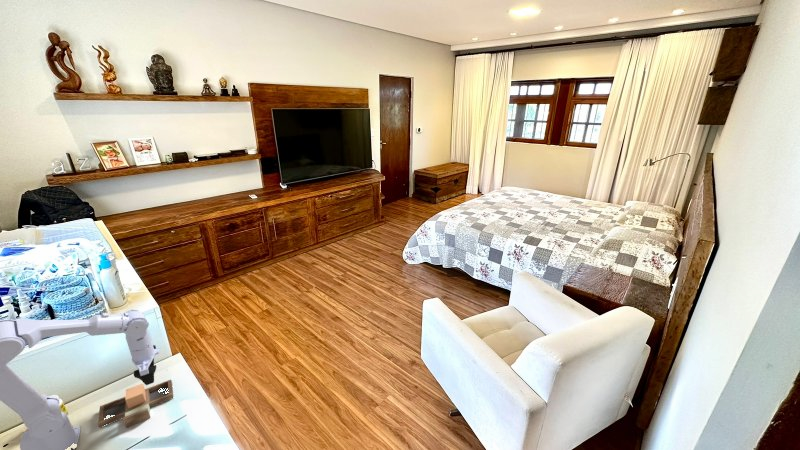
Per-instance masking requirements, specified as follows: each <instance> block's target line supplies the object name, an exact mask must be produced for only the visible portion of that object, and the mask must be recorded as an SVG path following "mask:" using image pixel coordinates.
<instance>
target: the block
mask: <svg viewBox="0 0 800 450" xmlns="http://www.w3.org/2000/svg"><path fill="white" fill-rule="evenodd" d="M145 389H146V388H145V387H144V383H140V384H138V385H136V386H133V387H131V388H127V389H125V396H126V397H125V396H124V397H125V400H126V403H127V406H128V408H131V407H133V406H136V405H138V404H141V403H143V402H146V392H145Z"/></svg>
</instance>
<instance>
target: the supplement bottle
mask: <svg viewBox="0 0 800 450" xmlns="http://www.w3.org/2000/svg"><path fill="white" fill-rule="evenodd" d="M48 396H49V397H55V398H57V399H58V400H59V406H60V410H61V412H64V413H66V414H67V416H69V411H68V409H67V406H66V405H65V403H64V401H63V400H62V398H60V397H59V395H57V394H52V395H48Z"/></svg>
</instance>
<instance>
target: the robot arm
mask: <svg viewBox="0 0 800 450" xmlns="http://www.w3.org/2000/svg"><path fill="white" fill-rule="evenodd" d="M149 325H150V324H149V322H148V320H147V318H146V316H144V314H143V313H142V312H141V311H140V310H138V309H129V310H126V311H124V312H121V313H111V314H110V313H108V312H101V314H95V315H93V316H91V317H90V318H88V319H33V318H27V317H21V318H16V319H11V318H6V319H5V318H4V319H0V402H2V403H3V404H4V405H6V406H7V407H8V408H10V410H12V411H13V412H14V413H16V414H17V415H18V416H20V419H21V420H22V422H23V424H24V426H25V427H26V428H27V429H28V430H26V431H25V432H23V433H22V434H21V436H20V440H19V448H20V450H65V449H67V448H68V447H70V446H71V445H72V444H73V443H74V444H77V442H78V443H79V440H78V439H80V434H81V433H80V432H81V426H80V425H78V426H76V427H74V426H73V425H72V423H71V420H70V418H69V417H68V416H69V415H68V416H67V414H66V413H64V412H61V410H60V406H59V400H58V399H57V398H55V397H49V396H50V395H47V394H46V393H40V392H39V391H38V390H36V388H34V387H33V385H31V384H29V382H27V381H26V380H25V379H24V378H23V377H21V376H20V375H19V374H18V373H17V372H16V371H15V370H13V368H11V367H10V366H9V365H8V363H10V362H11V361H12V360H14V359H15V358H16V357H18V356H19V355H20V354H21V353H23V351H24V350H25V347H26V346H28V349H31V348H33V347H34V346H36V345H37V344H38V343H40V342H41V341H42V340H43V339H45V338H50V337H58V336H66V335H73V334H74V335H75V334H80V333H81V334H82V333H87V334H88V335H90V336H91V337H94V336H95V337H96V336H106V335H116V334H123V333H124V334H125V341H126V343H127V347H128V350H129V352H130V355H131V356H130V357H131V362H132V363H133V364H134V365H135V367H136V368H137V369H136V370H134V371H133V377H134V378H136V379H139V380H140V381H141V382H142V384H143V385H145V386H149V385H151V384H154V383H155V373H156V371H157V364H155V356H156V355H159V354H160V349H159V348H157V346H156V345H154V344H153V341H152V338H151V337H152V336H151V333H150V330H149Z"/></svg>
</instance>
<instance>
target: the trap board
mask: <svg viewBox="0 0 800 450" xmlns="http://www.w3.org/2000/svg"><path fill="white" fill-rule="evenodd" d="M172 386H173V381H172V379H168V380H166V381H162V382H160V383H158V384H156V385H155V384H154V385H152V386H150V387H146V388H144V389H145V392H146V402H143V403H141V404H138V405H136V406H133V407H131V408H128V406H127V403H126V400H125V397H126V395H125V396H123V397H120V398H118V399H115V400H112V401H109V402H107V403H105V404H102V405H99V411H98V420H97V425H98V427H101V428H103V427H105V426H104V425H106V424H108V425H110V424H109V423H111V422H113V423H115V422H114V421H116V420H118V421H120V420H119V419H121V418H123V419H121V420H122V421H123V424H124V426H125V428H126V427H127V428H130V427H132V426H134V425H137V424H140V423H141V422H144V421H146V420H148V419H150V418H151V408H152V407H154V406H157V405H160V404H162V403H165V402H167V401H169V399H170V400H172V399H174V398H173V397H174V388H173V387H172ZM160 388H162V389H163V388H164V389H165V388H166V389H167V388H168V390H169V391H168V390H167V391H168V392H169V393H167V394H165V391H166V389H165V391H163V392H160V393H159V392H158V390H159V389H160ZM164 389H163V390H164ZM160 390H161V389H160ZM160 390H159V391H160ZM167 391H166V392H167ZM163 393H164V394H163ZM171 398H172V399H171ZM107 415H110V416H111V415H115V416H113V417H110V418H108V419H105V420H104V418H106V416H107ZM116 422H117V421H116ZM111 424H112V423H111ZM102 426H103V427H102ZM106 426H107V425H106ZM129 426H130V427H129Z"/></svg>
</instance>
